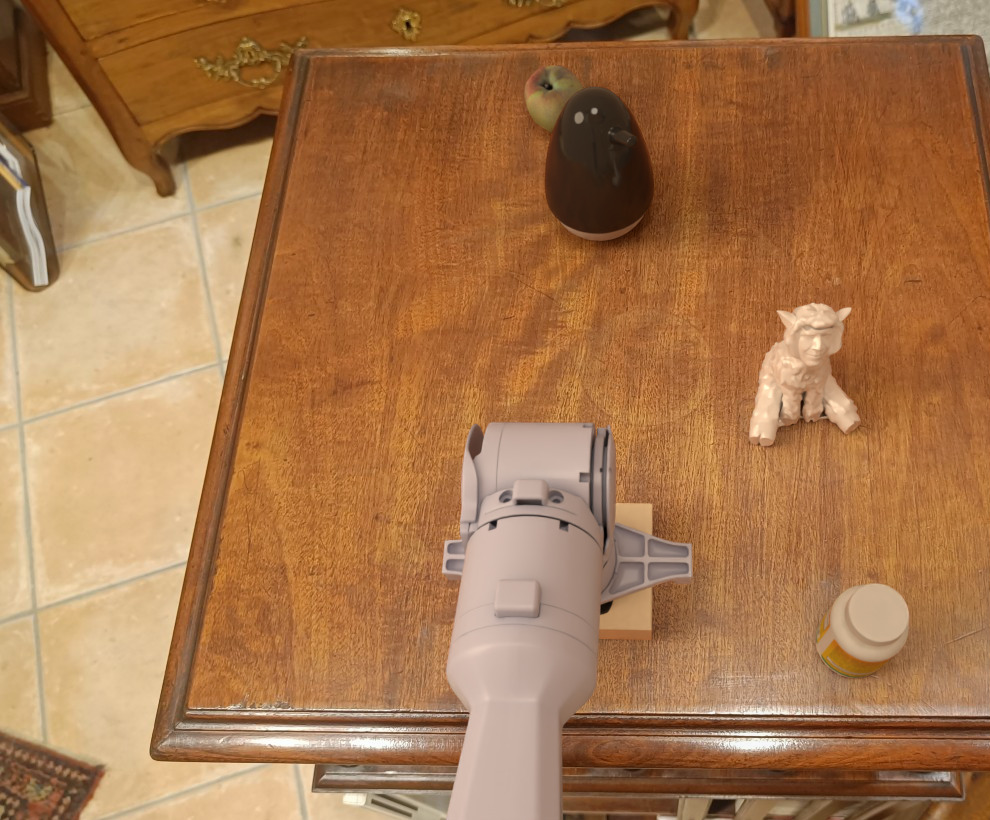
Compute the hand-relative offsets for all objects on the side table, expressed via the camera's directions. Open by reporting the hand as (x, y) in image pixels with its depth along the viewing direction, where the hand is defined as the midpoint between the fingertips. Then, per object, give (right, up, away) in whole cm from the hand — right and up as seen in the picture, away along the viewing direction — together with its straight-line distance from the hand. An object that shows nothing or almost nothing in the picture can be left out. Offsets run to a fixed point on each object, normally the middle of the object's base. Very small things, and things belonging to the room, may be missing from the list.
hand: (578, 590), depth 62 cm
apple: (-3, +43, +34) cm, 54 cm away
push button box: (+1, -1, +11) cm, 11 cm away
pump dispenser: (+2, +31, +28) cm, 42 cm away
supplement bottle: (+20, -6, +8) cm, 23 cm away
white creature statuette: (+18, +13, +18) cm, 28 cm away
